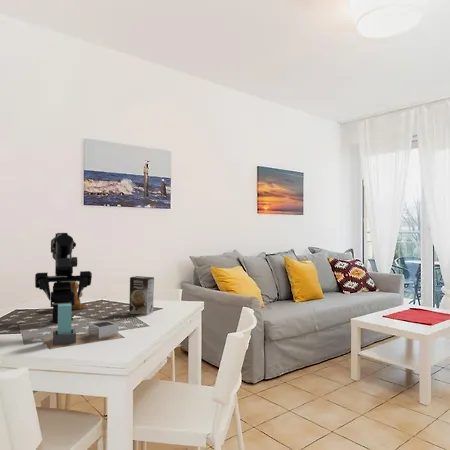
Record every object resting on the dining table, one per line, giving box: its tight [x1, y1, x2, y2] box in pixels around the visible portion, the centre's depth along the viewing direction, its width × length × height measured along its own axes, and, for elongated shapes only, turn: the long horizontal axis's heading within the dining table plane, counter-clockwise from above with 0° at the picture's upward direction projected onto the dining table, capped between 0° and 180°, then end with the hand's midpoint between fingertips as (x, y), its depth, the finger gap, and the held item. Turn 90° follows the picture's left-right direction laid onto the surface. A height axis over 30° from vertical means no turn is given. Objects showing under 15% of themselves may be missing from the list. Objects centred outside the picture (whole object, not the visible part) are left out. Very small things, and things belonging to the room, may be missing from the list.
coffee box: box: [128, 275, 155, 316], centre depth 176 cm, size 9×6×16 cm
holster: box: [52, 328, 77, 345], centre depth 129 cm, size 7×7×3 cm
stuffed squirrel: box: [70, 282, 88, 311], centre depth 182 cm, size 10×14×13 cm
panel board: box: [42, 332, 125, 350], centre depth 133 cm, size 24×12×1 cm, turn 124°
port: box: [88, 320, 119, 340], centre depth 136 cm, size 7×7×4 cm
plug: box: [57, 303, 73, 335], centre depth 129 cm, size 4×4×12 cm
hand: (64, 298), depth 137 cm, fingers open, 9 cm apart
